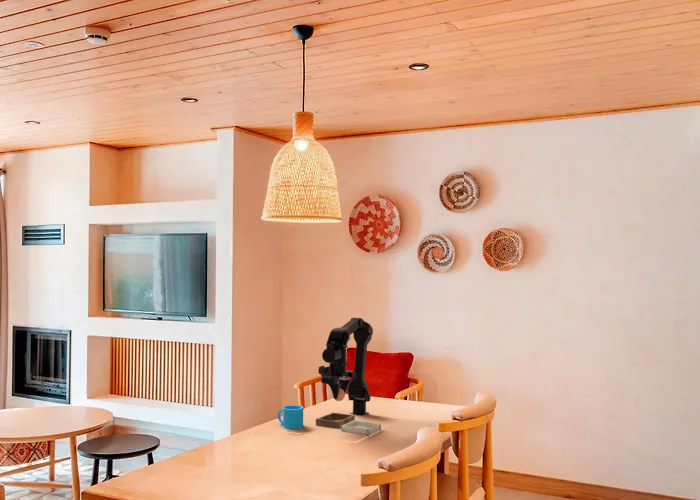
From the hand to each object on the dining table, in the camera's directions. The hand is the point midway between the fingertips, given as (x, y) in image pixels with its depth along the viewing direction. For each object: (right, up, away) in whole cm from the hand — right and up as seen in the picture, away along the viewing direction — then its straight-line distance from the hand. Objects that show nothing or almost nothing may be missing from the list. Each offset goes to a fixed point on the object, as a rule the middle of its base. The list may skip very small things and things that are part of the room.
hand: (338, 398), depth 252 cm
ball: (0, -1, 0) cm, 1 cm away
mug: (-20, -11, -3) cm, 23 cm away
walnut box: (-1, -11, +1) cm, 11 cm away
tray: (+9, -11, -9) cm, 17 cm away
